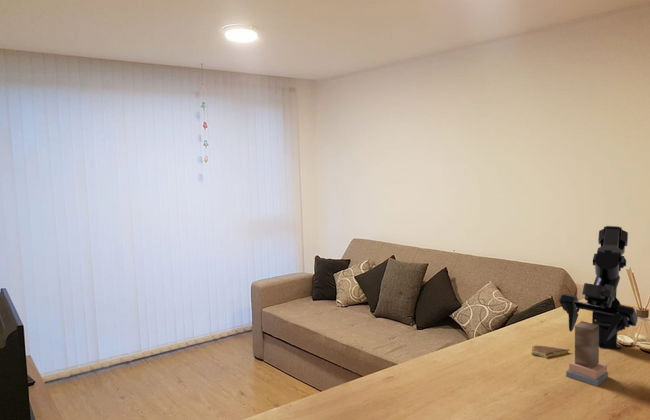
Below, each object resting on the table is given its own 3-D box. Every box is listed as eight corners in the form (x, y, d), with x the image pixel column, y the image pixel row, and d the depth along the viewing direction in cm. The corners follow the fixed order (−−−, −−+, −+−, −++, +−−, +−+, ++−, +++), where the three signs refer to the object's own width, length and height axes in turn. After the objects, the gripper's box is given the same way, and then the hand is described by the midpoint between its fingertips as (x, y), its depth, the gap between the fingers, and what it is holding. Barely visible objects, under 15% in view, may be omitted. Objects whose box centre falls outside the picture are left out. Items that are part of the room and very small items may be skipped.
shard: (569, 354, 148) (569, 348, 148) (570, 363, 141) (570, 357, 141) (531, 348, 152) (532, 343, 152) (531, 357, 146) (531, 352, 145)
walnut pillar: (574, 363, 131) (574, 325, 130) (581, 358, 134) (581, 321, 133) (592, 368, 128) (592, 329, 126) (598, 362, 131) (598, 325, 129)
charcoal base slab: (566, 378, 132) (566, 371, 132) (577, 370, 137) (577, 363, 137) (597, 388, 126) (597, 381, 126) (607, 379, 131) (608, 372, 131)
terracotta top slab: (569, 370, 132) (569, 363, 132) (580, 363, 136) (580, 356, 136) (595, 379, 126) (596, 371, 126) (606, 372, 131) (607, 364, 130)
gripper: (562, 266, 138) (544, 311, 132) (636, 278, 124) (620, 328, 118) (572, 288, 144) (556, 332, 138) (644, 301, 130) (628, 350, 124)
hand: (587, 335), depth 129 cm, fingers open, 9 cm apart
